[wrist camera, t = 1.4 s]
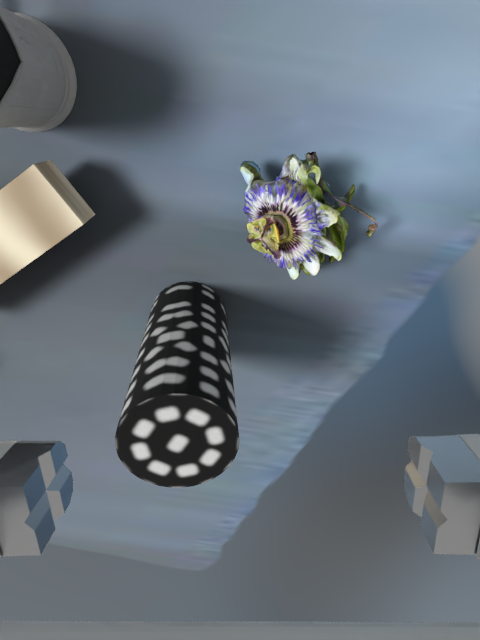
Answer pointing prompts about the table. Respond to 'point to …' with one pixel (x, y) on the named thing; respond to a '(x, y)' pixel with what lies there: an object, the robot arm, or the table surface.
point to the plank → (37, 215)
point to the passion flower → (296, 216)
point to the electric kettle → (33, 74)
